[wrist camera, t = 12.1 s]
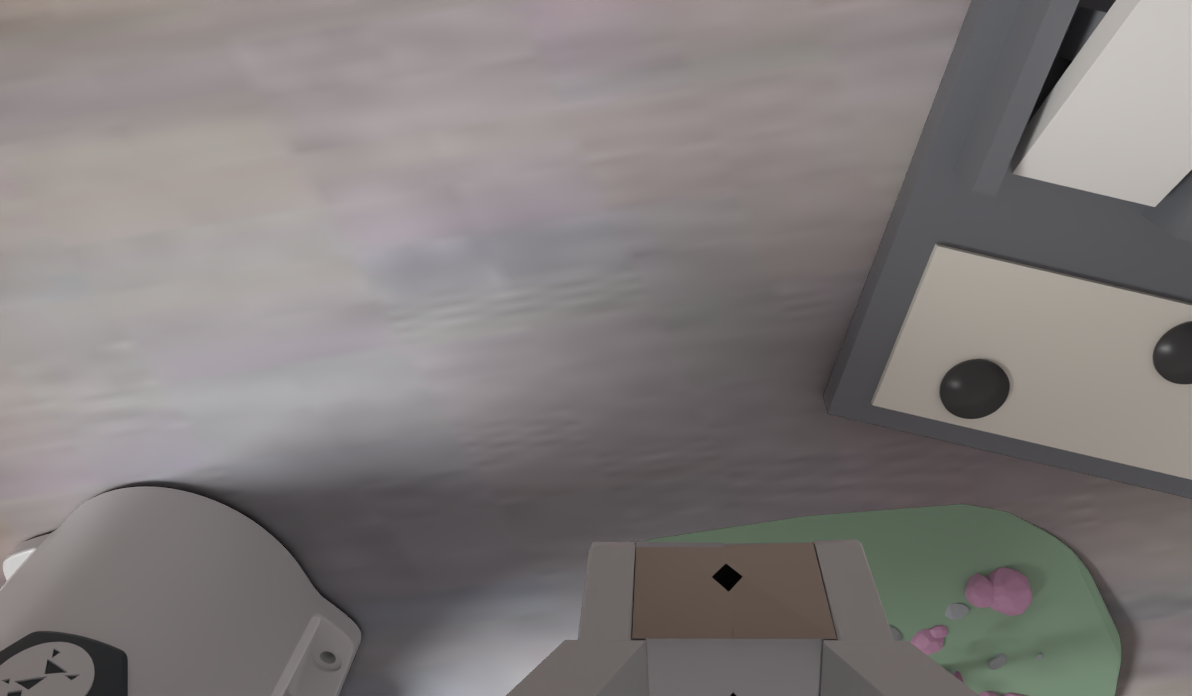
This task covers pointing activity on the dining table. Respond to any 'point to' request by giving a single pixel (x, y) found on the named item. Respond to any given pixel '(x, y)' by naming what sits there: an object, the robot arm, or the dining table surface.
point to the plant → (973, 594)
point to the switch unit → (1025, 282)
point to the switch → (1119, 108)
